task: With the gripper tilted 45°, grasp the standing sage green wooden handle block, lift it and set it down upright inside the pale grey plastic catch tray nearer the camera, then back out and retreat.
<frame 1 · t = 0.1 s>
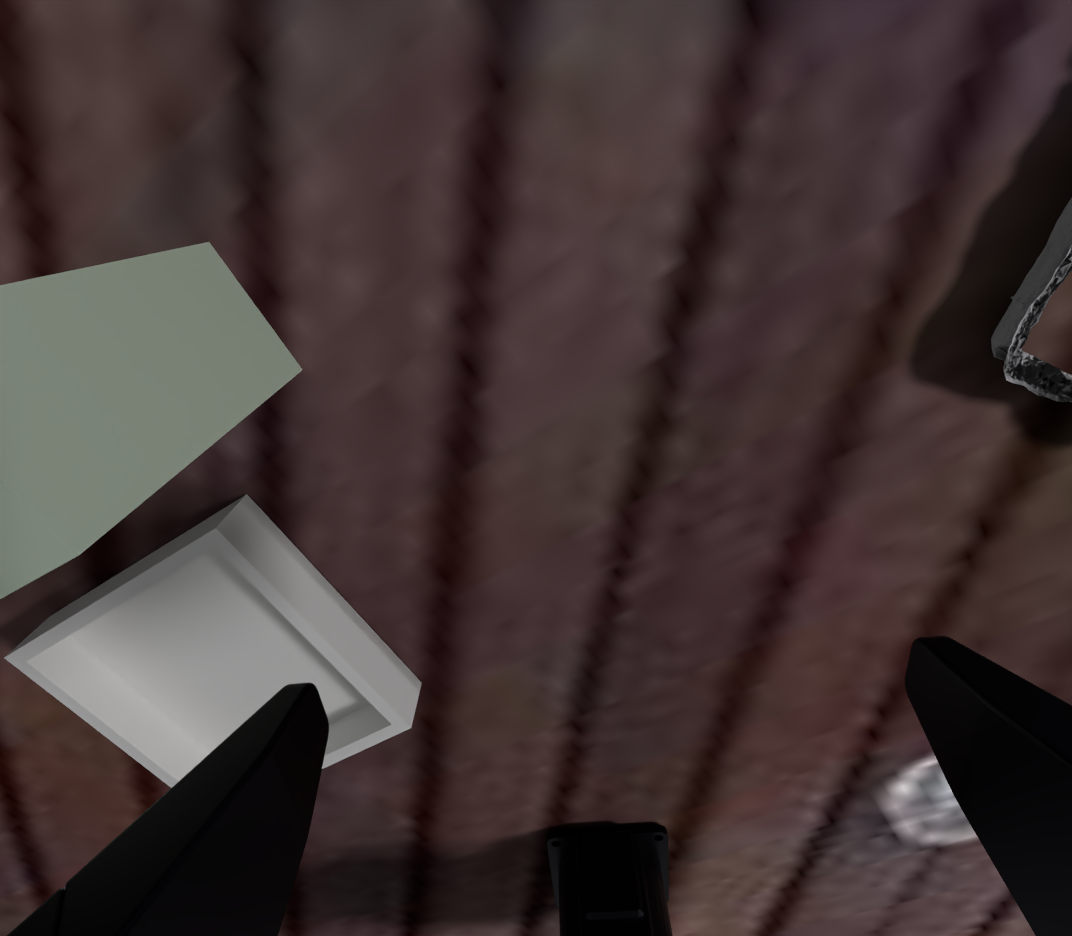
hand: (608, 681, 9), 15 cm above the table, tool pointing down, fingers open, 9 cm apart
catch tray: (241, 650, 28), on the table
handle block: (203, 342, 22), on the table
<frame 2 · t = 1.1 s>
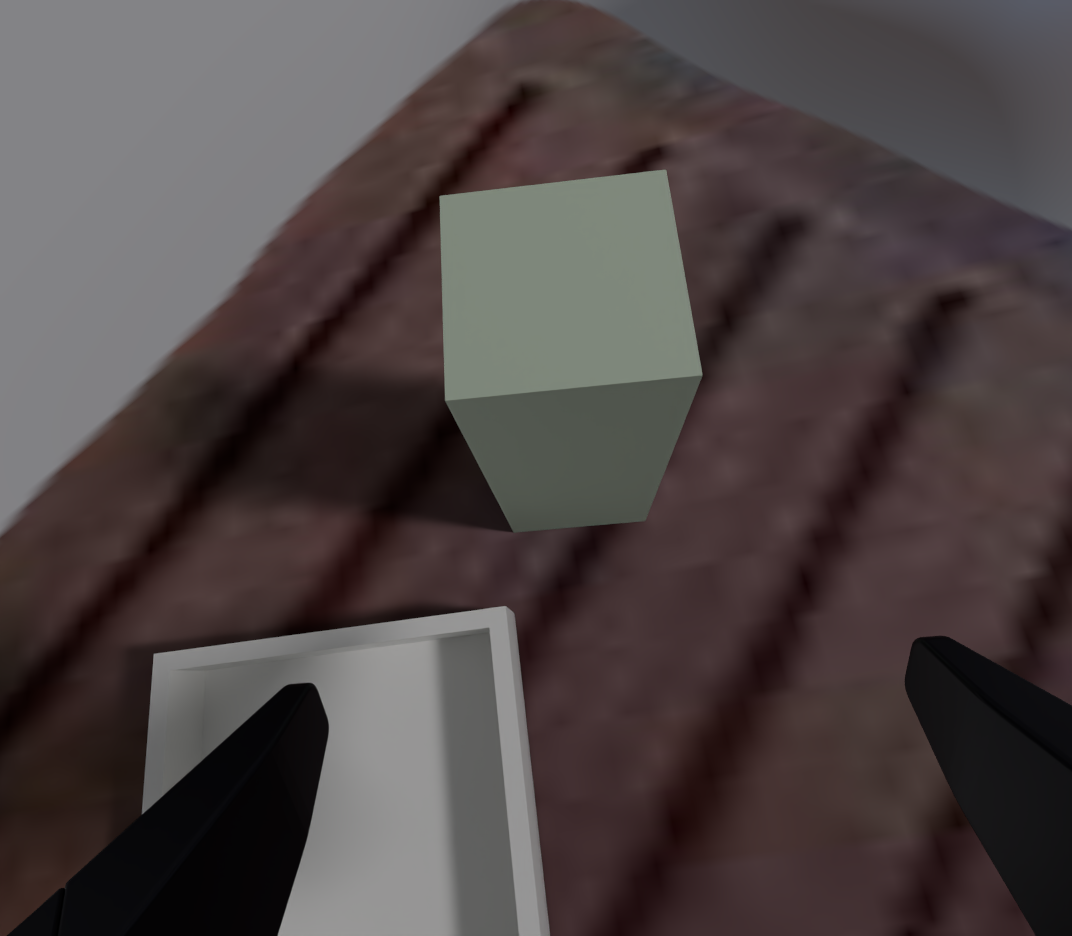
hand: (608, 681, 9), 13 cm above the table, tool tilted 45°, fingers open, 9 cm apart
catch tray: (361, 814, 21), on the table
handle block: (573, 464, 24), on the table
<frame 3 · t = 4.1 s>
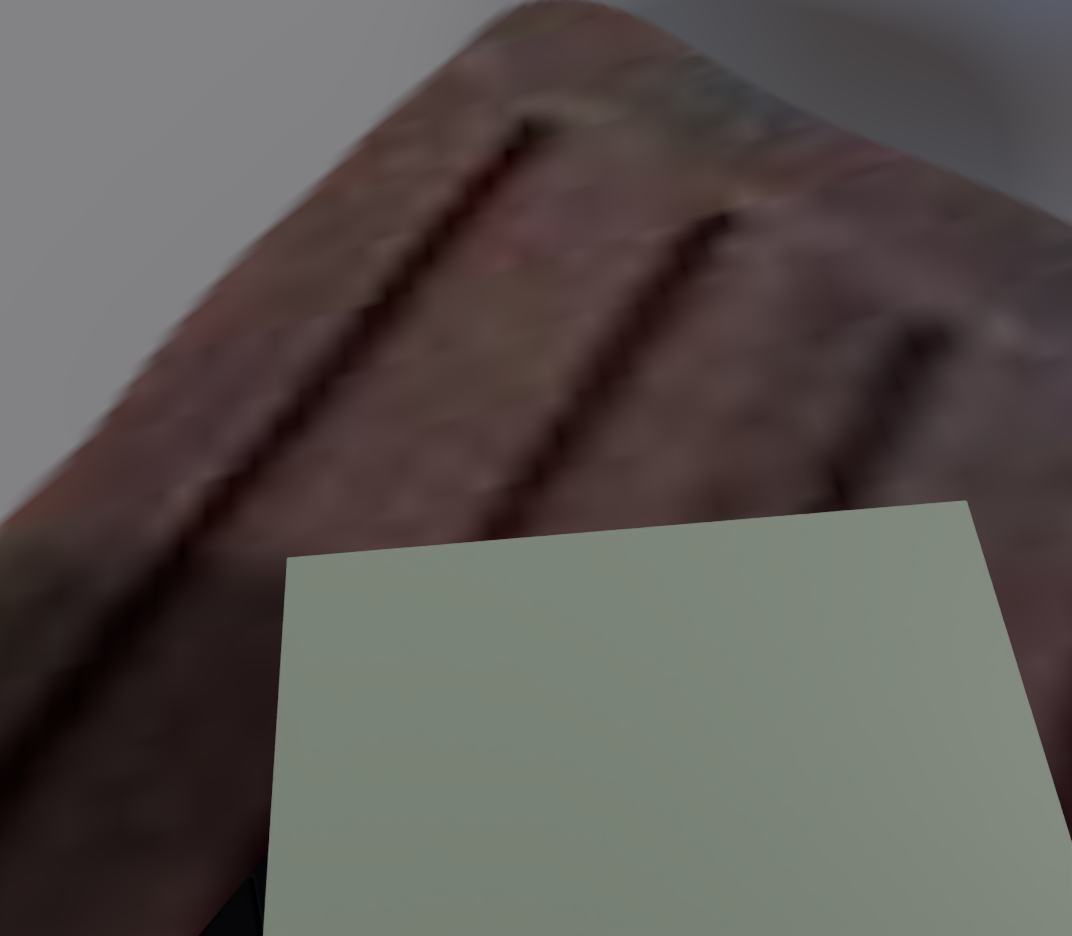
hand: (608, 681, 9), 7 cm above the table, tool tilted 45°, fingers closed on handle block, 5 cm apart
handle block: (604, 738, 15), on the table, touching gripper
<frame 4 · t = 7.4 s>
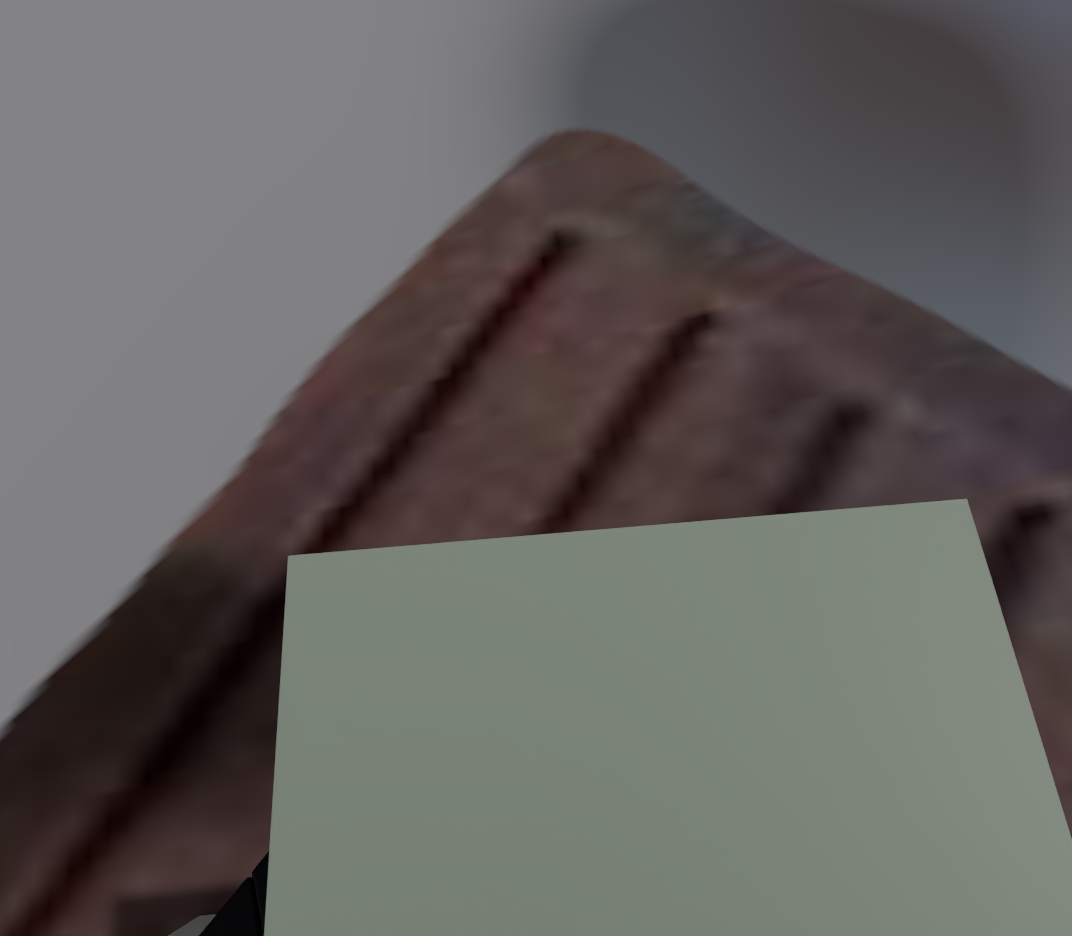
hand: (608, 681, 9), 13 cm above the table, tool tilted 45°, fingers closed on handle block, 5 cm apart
handle block: (605, 737, 15), point 7 cm above the table, touching gripper
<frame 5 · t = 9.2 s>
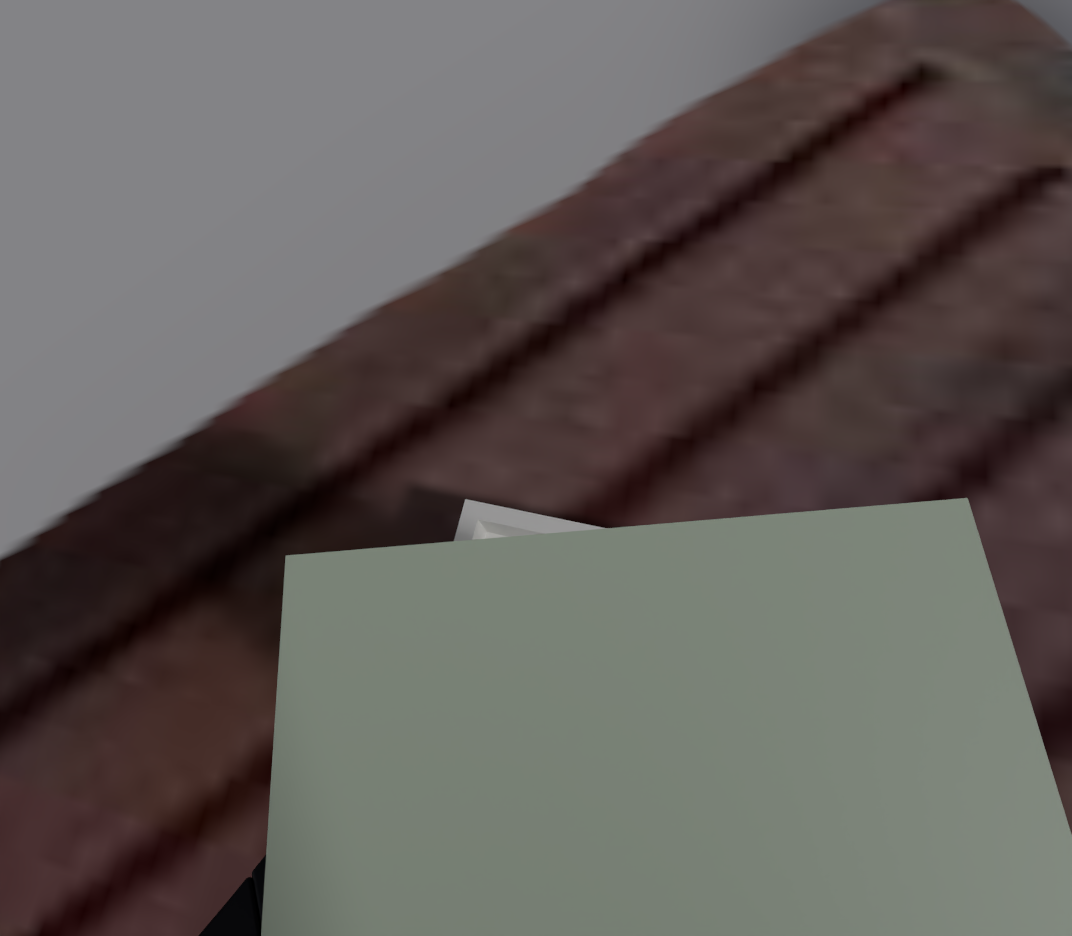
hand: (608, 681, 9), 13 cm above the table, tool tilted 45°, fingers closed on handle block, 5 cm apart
catch tray: (599, 716, 21), on the table
handle block: (604, 737, 15), point 6 cm above the table, touching gripper
when the fingers open (9 cm above the table, at t = 10.8 s): handle block drops 2 cm, resting on catch tray.
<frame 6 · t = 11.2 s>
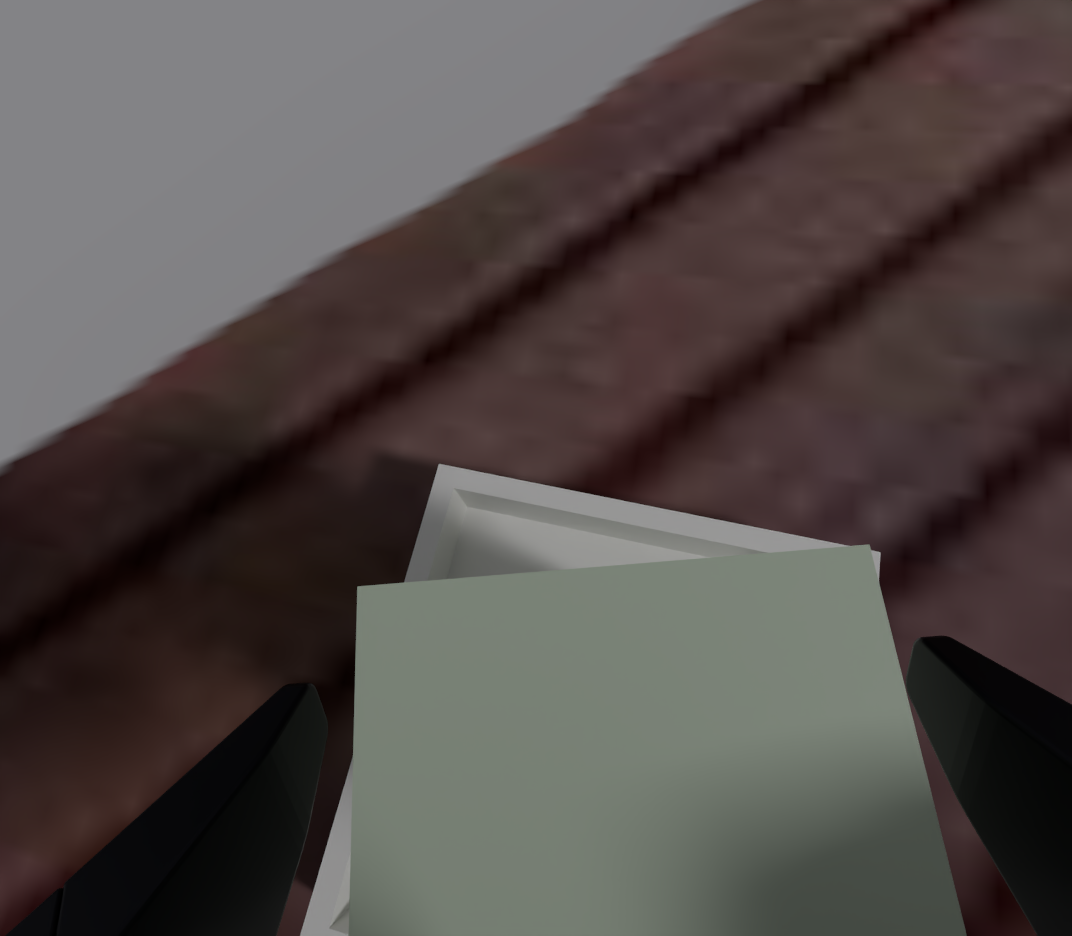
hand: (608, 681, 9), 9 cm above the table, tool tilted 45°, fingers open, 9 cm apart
catch tray: (602, 730, 17), on the table
handle block: (602, 732, 17), point 1 cm above the table, touching catch tray
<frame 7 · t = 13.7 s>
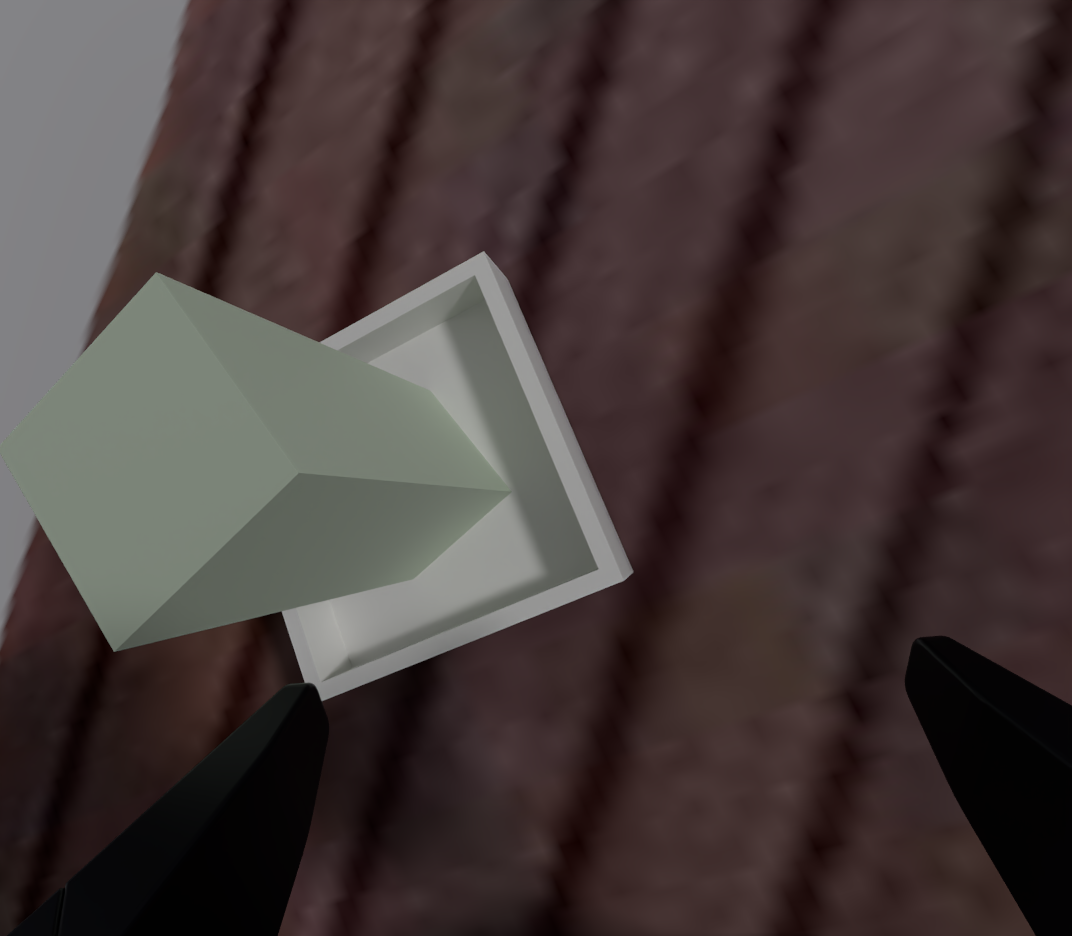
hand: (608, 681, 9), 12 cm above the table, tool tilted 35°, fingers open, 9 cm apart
catch tray: (429, 484, 23), on the table
handle block: (422, 484, 23), point 1 cm above the table, touching catch tray
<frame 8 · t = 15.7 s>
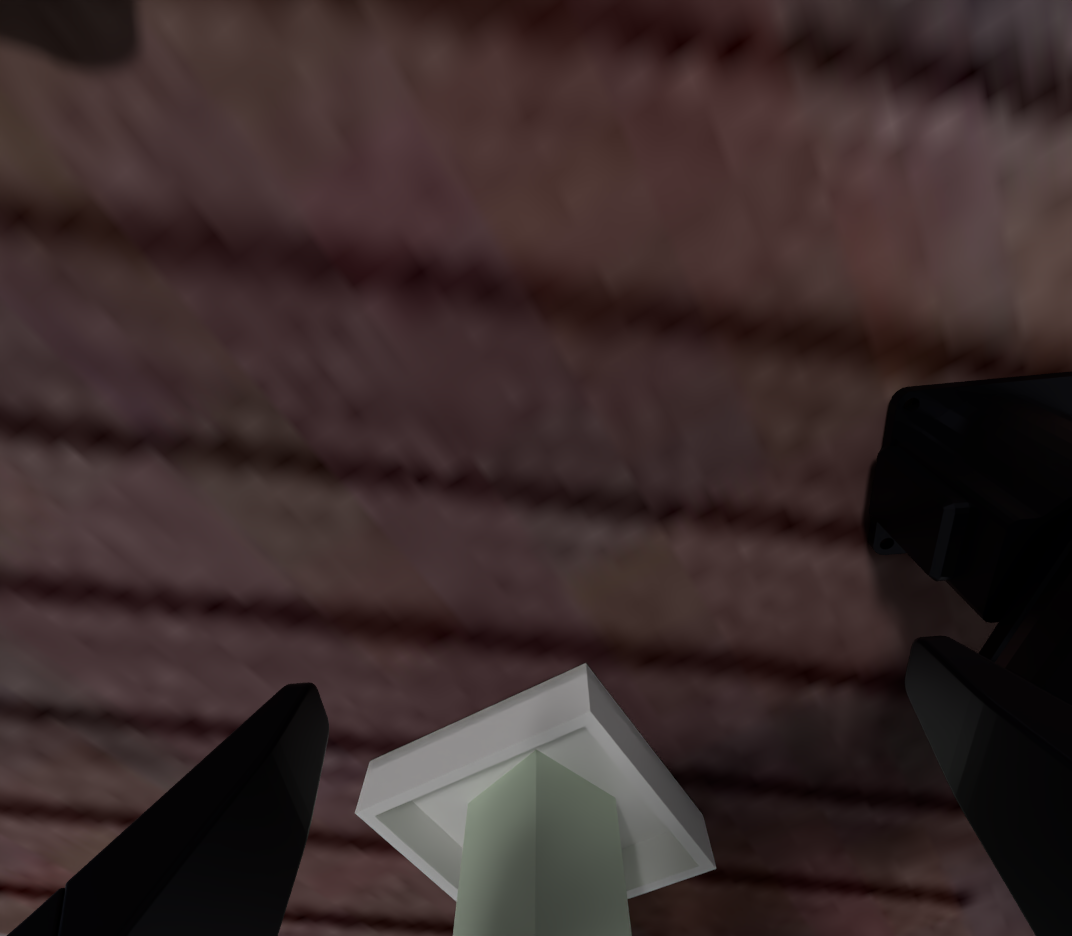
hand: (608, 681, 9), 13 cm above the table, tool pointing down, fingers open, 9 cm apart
catch tray: (540, 788, 30), on the table
handle block: (541, 800, 29), point 1 cm above the table, touching catch tray
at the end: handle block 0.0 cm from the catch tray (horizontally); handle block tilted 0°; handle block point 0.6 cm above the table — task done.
